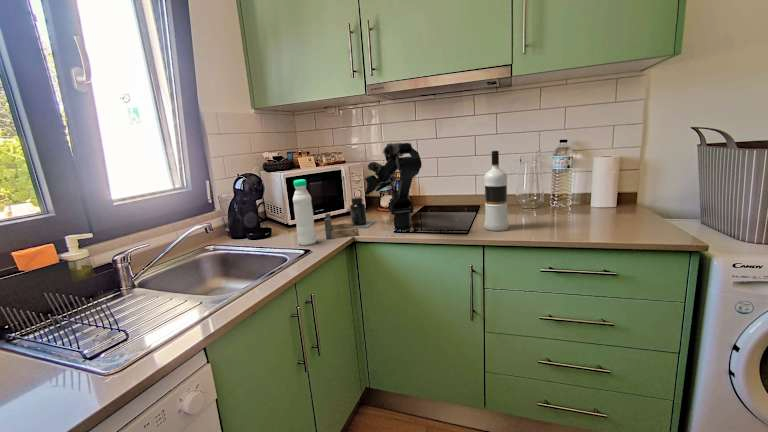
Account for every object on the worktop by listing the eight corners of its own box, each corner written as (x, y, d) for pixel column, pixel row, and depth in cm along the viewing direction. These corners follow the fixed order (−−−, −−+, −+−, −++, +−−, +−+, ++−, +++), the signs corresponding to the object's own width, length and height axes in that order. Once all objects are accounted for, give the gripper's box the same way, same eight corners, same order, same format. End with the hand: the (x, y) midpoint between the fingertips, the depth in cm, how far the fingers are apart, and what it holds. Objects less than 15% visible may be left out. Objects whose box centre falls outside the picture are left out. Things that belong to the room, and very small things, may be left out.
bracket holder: (356, 228, 164) (354, 210, 162) (357, 236, 151) (355, 216, 150) (327, 231, 163) (325, 213, 161) (326, 239, 150) (324, 219, 149)
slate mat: (375, 221, 174) (375, 220, 174) (367, 228, 163) (367, 227, 163) (351, 221, 178) (351, 221, 178) (342, 228, 167) (342, 227, 167)
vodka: (481, 231, 144) (479, 152, 138) (487, 225, 152) (485, 150, 145) (506, 232, 139) (505, 151, 133) (511, 226, 147) (510, 149, 141)
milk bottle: (308, 246, 142) (299, 181, 137) (294, 244, 146) (286, 181, 140) (320, 241, 148) (312, 178, 143) (307, 240, 151) (299, 178, 146)
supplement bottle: (369, 224, 169) (366, 197, 166) (355, 226, 166) (353, 200, 163) (362, 221, 175) (360, 196, 172) (349, 224, 172) (346, 198, 169)
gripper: (388, 153, 175) (370, 177, 183) (367, 157, 159) (348, 183, 167) (404, 170, 173) (385, 193, 180) (384, 175, 157) (364, 201, 165)
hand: (371, 192), depth 173 cm, fingers open, 9 cm apart
